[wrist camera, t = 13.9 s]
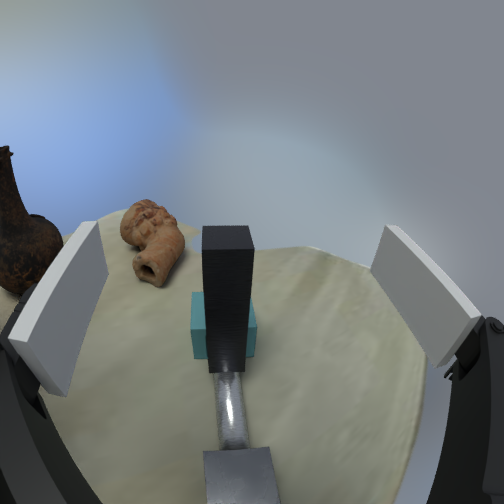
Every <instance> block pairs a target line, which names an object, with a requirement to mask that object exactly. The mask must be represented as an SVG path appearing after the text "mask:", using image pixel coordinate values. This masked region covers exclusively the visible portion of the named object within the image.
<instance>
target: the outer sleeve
mask: <svg viewBox="0 0 504 504" xmlns="http://www.w3.org/2000/svg"><path fill="white" fill-rule="evenodd" d="M203 456H204V469H205V481H206V492H207V502H208V504H280V499H279V494H278V490H277V485H276V480H275V475H274V470H273V465H272V460H271V454H270V449H269V447H262V448H253V449H241V450H225V451H203Z"/></svg>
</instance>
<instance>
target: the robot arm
mask: <svg viewBox="0 0 504 504" xmlns="http://www.w3.org/2000/svg"><path fill="white" fill-rule="evenodd" d="M370 272H371V273H372V275H373V276H374V277H375V279H376V280H377V282H378V283H379V284H380V286H381V287H382V289H383V290H384V291H385V293H386V294H387V296H388V297H389V299H390V300H391V301H392V303H393V304H394V306H395V307H396V309H397V310H398V312H399V313H400V315H401V316H402V318H403V319H404V321H405V322H406V324H407V325H408V327H409V328H410V330H411V331H412V333H413V334H414V336H415V338H416V339H417V341H418V342H419V344H420V345H421V347H422V349H423V350H424V352H425V354H426V355H427V357H428V358H429V360H430V362H431V363H432V365H433V367H434V368H438V367H441V366H443V365H446V364H447V363H448V362H449V361H450V359H451V358H452V356H453V355H454V354H455V355H456V357H457V360H456V361H455V362H454V364H453V365H452V366H451V367H450V368H449V370H448V371H447V372H446V373H445V375H444V378H446V377H447V376H448V375H449V374H450V373H453V374H452V375H451V376H450V377H449V380H451V381H452V388H451V397H450V406H449V413H448V420H447V426H446V431H445V437H444V442H443V447H442V451H441V456H440V460H439V464H438V468H437V471H436V475H435V479H434V482H433V485H432V488H431V491H430V495H429V498H428V500H427V503H426V504H504V325H503V324H502V323H501V322H500V321H499V320H497V319H495V318H493V317H487V318H486V319H485V318H484V317H483V316H482V315H481V313H480V312H479V311H478V310H477V308H475V306H474V305H473V304H472V303H471V301H470V300H469V299H468V298H467V297H466V296H465V294H464V293H463V292H462V291H461V290H460V289H459V288H458V286H457V285H456V284H455V283H454V282H453V281H452V280H451V279H450V278H449V277H448V276H447V275H446V274H445V272H444V271H443V270H442V269H441V268H440V267H439V266H438V265H437V264H436V263H435V262H434V261H433V260H432V259H431V258H430V257H429V256H428V255H427V254H426V253H425V252H424V251H423V250H422V249H421V248H420V247H419V246H418V245H417V244H416V243H415V242H414V241H413V240H412V239H411V238H410V237H409V236H408V235H407V234H405V233H404V232H403V231H402V230H401V229H400V228H399V227H398V226H396V225H385V227H384V231H383V234H382V237H381V240H380V243H379V246H378V249H377V252H376V255H375V258H374V261H373V264H372V266H371V269H370ZM108 275H109V273H108V269H107V264H106V260H105V256H104V251H103V246H102V241H101V236H100V231H99V226H98V221H89V222H82V223H81V225H80V226H79V227H78V228H77V229H76V231H75V232H74V233H73V235H72V236H71V237H70V239H69V240H68V241H67V243H66V244H65V245H64V247H63V248H62V249H61V251H60V252H59V254H58V255H57V257H56V258H55V259H54V261H53V262H52V264H51V265H50V267H49V268H48V270H47V271H46V273H45V274H44V276H43V277H42V279H41V280H40V282H39V283H34V284H33V285H32V286H31V287H30V288H29V289H27V290H26V291H25V292H24V294H23V296H22V297H21V299H20V300H19V304H17V305H16V307H15V309H14V312H12V314H11V316H10V318H9V319H8V321H7V323H6V325H5V327H4V329H3V330H2V332H1V334H0V504H102V502H101V501H100V500H99V498H98V497H97V496H96V494H95V493H94V491H93V490H92V489H91V487H90V486H89V484H88V483H87V481H86V480H85V478H84V477H83V475H82V474H81V472H80V471H79V469H78V467H77V466H76V464H75V463H74V461H73V459H72V457H71V456H70V454H69V452H68V450H67V449H66V447H65V445H64V443H63V441H62V439H61V438H60V436H59V434H58V432H57V430H56V428H55V426H54V424H53V422H52V419H51V417H50V415H49V413H48V411H47V408H46V406H45V404H44V401H43V399H42V397H41V395H40V394H39V393H38V390H39V387H40V384H41V385H42V386H43V388H44V389H45V390H46V391H47V392H48V393H49V394H53V395H58V396H62V397H67V393H68V389H69V386H70V382H71V378H72V375H73V371H74V368H75V364H76V361H77V358H78V355H79V352H80V348H81V345H82V342H83V339H84V337H85V334H86V331H87V328H88V325H89V322H90V320H91V317H92V314H93V312H94V309H95V306H96V304H97V301H98V299H99V296H100V294H101V291H102V289H103V286H104V284H105V282H106V279H107V277H108Z"/></svg>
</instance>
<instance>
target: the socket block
mask: <svg viewBox="0 0 504 504" xmlns="http://www.w3.org/2000/svg"><path fill="white" fill-rule="evenodd" d="M256 332H257V324H256V320H255V315H254V310H253V305H252V300H251V299H250V311H249V323H248V336H247V348H246V357H254V349H255V341H256ZM191 337H192V345H193V352H194V359H208V353H207V340H206V326H205V310H204V293H203V292H192V304H191Z"/></svg>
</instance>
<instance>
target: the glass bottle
mask: <svg viewBox="0 0 504 504" xmlns="http://www.w3.org/2000/svg"><path fill="white" fill-rule="evenodd" d="M12 155H13V153H12V152H10V151H9V146H3V147H0V286H1V287H3V288H4V289H6V290H8V291H10V292H13V293H19V294H24V292H25V291H26V290H27V289H29V288H30V287H31V286H32V285H33V284H34V283H39V282H40V280H41V279H42V277H43V276H44V274H45V273H46V271H47V270H48V268H49V267H50V265H51V264H52V262H53V261H54V259H55V258H56V257H57V255H58V254H59V252H60V251H61V249H62V248H63V247H64V246H63V240H62V236H61V234H60V232H59V231H58V229H57V227H56V226H55V225H54V224H53V223H52V222H50V221H49V220H47V219H45V217H43V216H40V215H35V214H31V215H29V214H28V212H27V210H26V209H25V207H24V204H23V202H22V200H21V197H20V194H19V191H18V188H17V185H16V182H15V177H14V173H13V168H12V164H11V159H10V156H12Z"/></svg>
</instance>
